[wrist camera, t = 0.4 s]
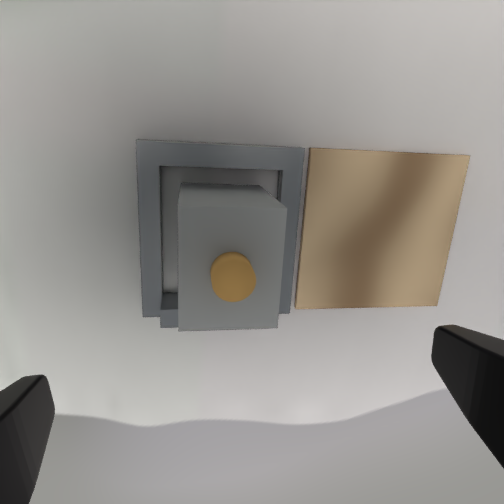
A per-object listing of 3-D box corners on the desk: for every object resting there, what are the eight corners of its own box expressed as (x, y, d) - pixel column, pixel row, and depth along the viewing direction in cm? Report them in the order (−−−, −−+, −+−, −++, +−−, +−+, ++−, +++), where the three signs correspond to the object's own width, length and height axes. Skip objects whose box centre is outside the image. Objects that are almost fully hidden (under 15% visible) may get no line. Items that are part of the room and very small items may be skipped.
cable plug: (259, 185, 20) (294, 213, 13) (254, 274, 21) (283, 341, 15) (180, 182, 19) (176, 211, 12) (181, 275, 20) (177, 345, 14)
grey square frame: (300, 147, 19) (312, 149, 17) (286, 307, 22) (295, 323, 20) (138, 139, 18) (132, 140, 16) (144, 310, 21) (139, 328, 19)
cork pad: (466, 155, 21) (470, 155, 21) (434, 303, 24) (436, 305, 23) (309, 147, 19) (311, 147, 19) (294, 306, 22) (295, 309, 22)
